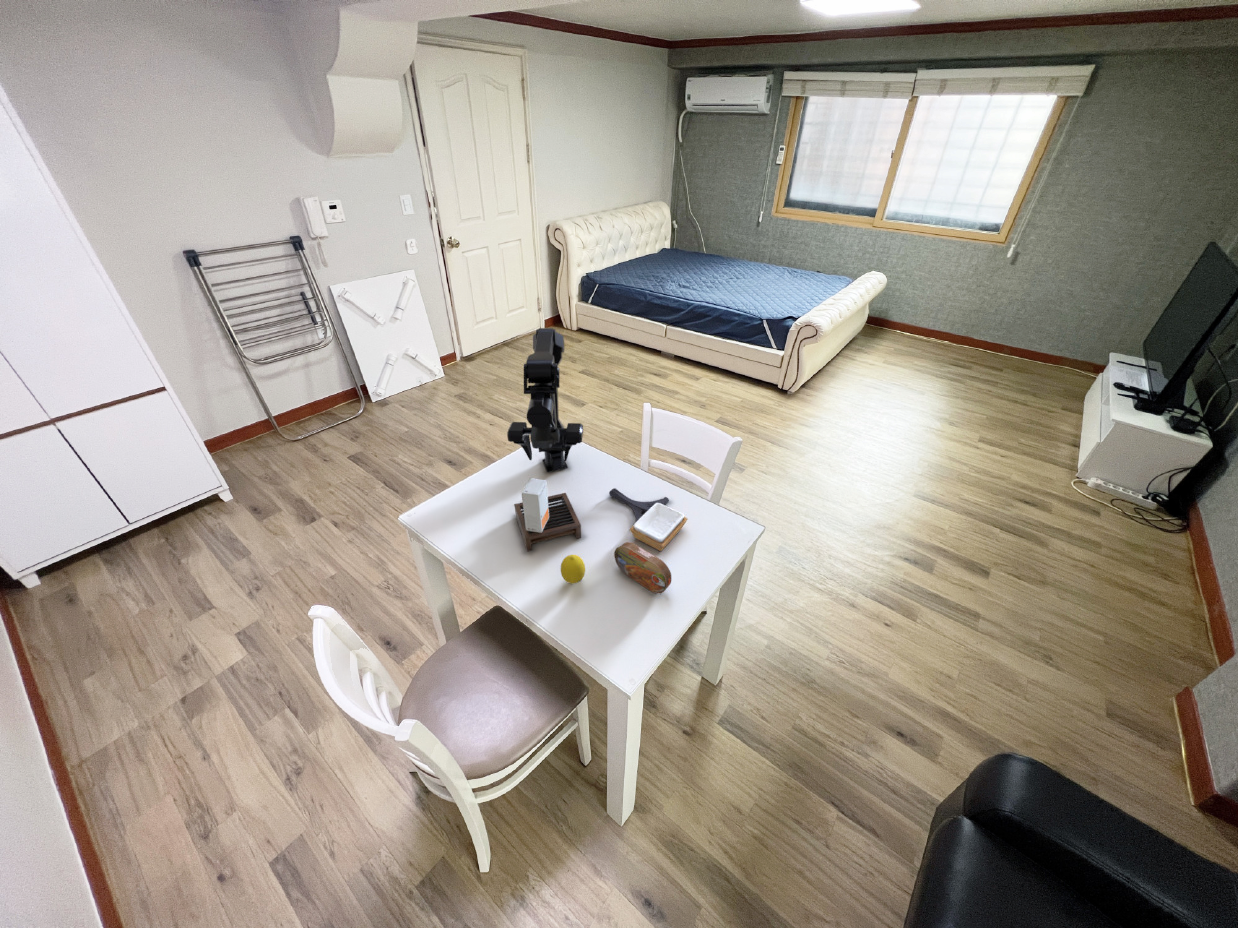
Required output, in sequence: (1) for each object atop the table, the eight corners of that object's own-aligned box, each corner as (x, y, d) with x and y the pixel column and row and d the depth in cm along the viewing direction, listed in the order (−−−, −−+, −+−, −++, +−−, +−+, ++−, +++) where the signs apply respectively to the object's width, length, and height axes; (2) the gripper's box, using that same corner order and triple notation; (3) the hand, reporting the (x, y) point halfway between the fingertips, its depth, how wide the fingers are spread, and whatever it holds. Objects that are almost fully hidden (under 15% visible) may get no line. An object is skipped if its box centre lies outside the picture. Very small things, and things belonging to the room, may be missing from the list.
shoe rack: (515, 516, 130) (514, 504, 128) (566, 505, 135) (565, 492, 132) (527, 551, 120) (525, 538, 118) (581, 537, 125) (580, 524, 122)
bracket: (625, 482, 143) (625, 475, 141) (668, 502, 136) (669, 495, 134) (594, 508, 134) (594, 501, 132) (639, 531, 127) (640, 523, 125)
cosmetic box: (542, 533, 119) (538, 495, 112) (525, 530, 120) (520, 493, 113) (550, 517, 124) (546, 479, 117) (534, 514, 125) (529, 477, 118)
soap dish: (655, 513, 132) (656, 499, 129) (687, 528, 128) (688, 514, 125) (628, 539, 124) (629, 525, 121) (661, 556, 119) (663, 541, 117)
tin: (613, 566, 117) (613, 541, 112) (621, 559, 119) (622, 534, 114) (663, 600, 109) (666, 574, 104) (672, 591, 111) (675, 566, 106)
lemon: (573, 568, 116) (571, 544, 111) (590, 580, 113) (589, 555, 109) (556, 582, 113) (554, 558, 108) (574, 594, 110) (572, 570, 105)
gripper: (498, 422, 114) (506, 476, 123) (578, 424, 114) (580, 478, 123) (508, 401, 123) (515, 452, 132) (582, 402, 123) (584, 454, 132)
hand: (548, 459), depth 129 cm, fingers open, 9 cm apart
